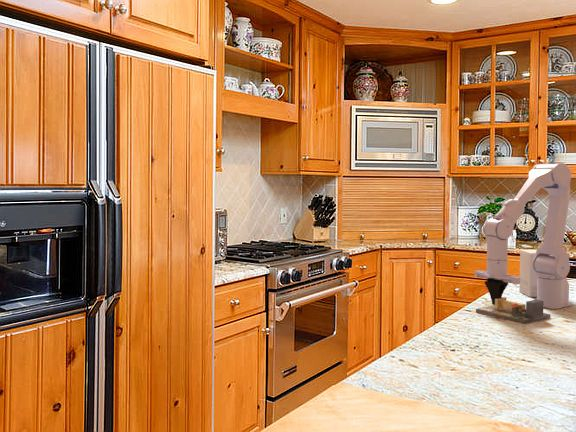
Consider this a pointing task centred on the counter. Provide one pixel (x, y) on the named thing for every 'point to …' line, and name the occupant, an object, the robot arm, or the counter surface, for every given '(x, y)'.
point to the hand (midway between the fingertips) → (495, 304)
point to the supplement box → (528, 273)
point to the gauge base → (529, 315)
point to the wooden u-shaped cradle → (507, 304)
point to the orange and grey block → (515, 309)
